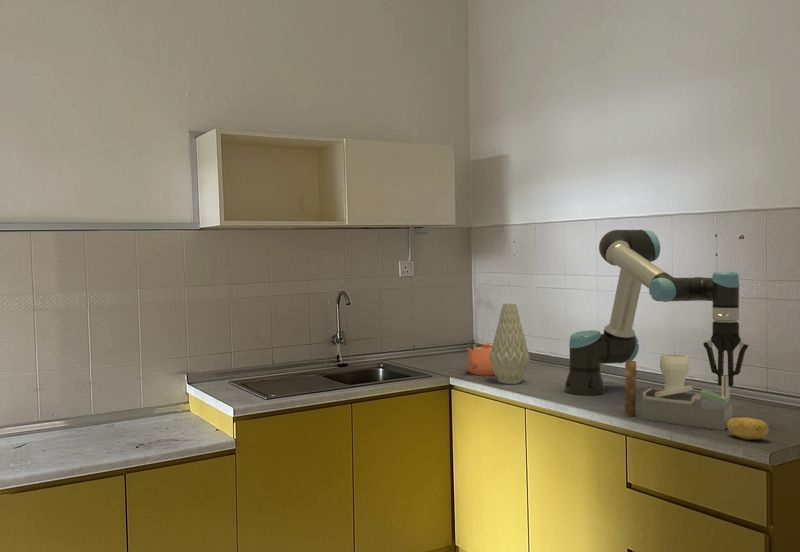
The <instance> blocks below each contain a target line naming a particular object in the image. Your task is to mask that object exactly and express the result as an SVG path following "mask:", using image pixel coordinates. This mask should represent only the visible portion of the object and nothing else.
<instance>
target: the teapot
mask: <svg viewBox="0 0 800 552" xmlns="http://www.w3.org/2000/svg"><path fill="white" fill-rule="evenodd" d="M491 349H492V346H491V343H489V342H487V343H485V342H484V343H482V346H476V347H473V349H472V348H471V347H467V346H465V350H467V362H466V369H467V371H468V372H469V373H470V374H471V375H475V376H482V377H484V376H485V377H488V376H490V377H492V376H495V373H494V370H493V368H492V363H491V361H490V360H489V358H490V352H491Z"/></svg>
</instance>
